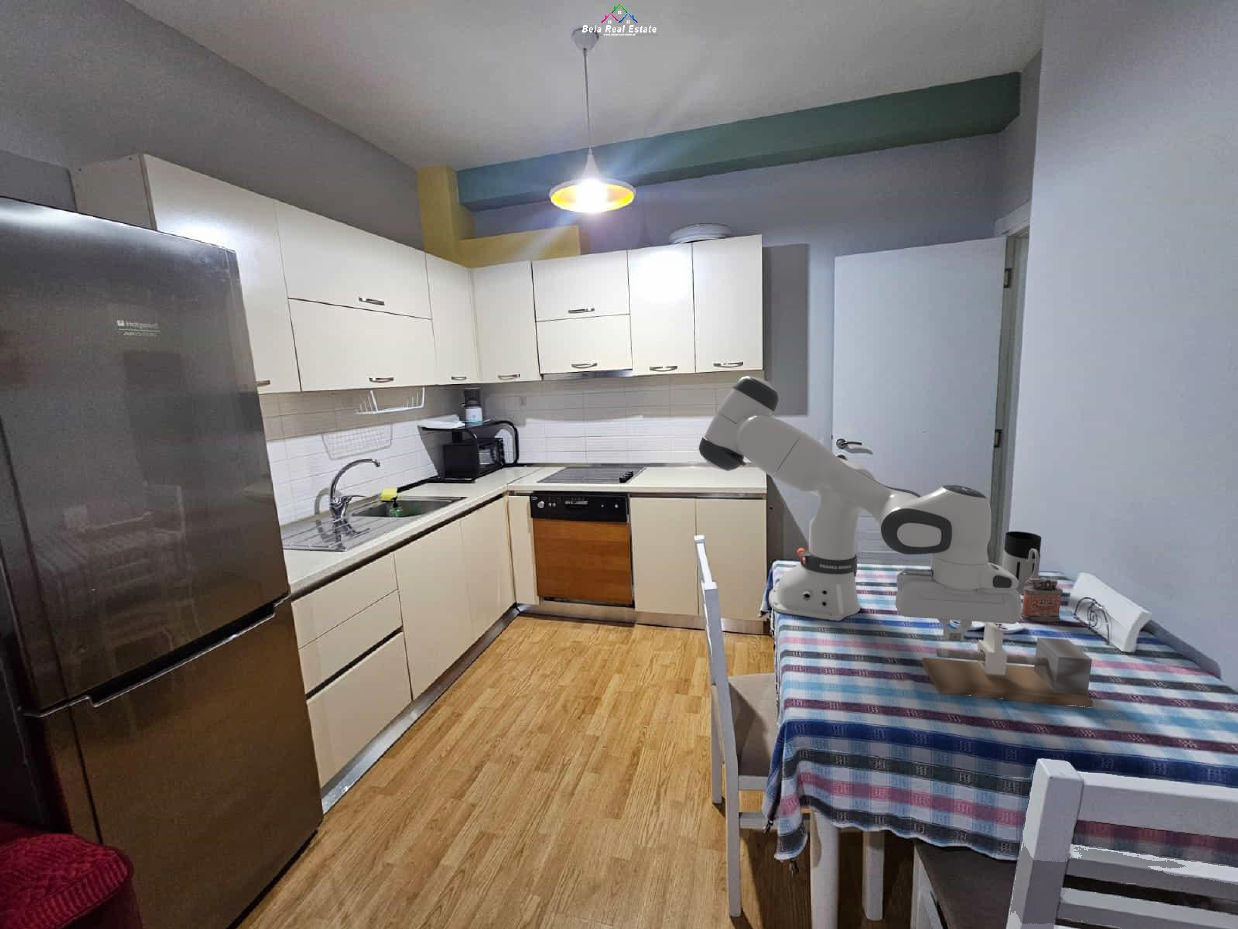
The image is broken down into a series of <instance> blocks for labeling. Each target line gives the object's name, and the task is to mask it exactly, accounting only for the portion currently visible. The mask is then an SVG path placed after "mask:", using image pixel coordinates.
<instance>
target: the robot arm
mask: <svg viewBox="0 0 1238 929" xmlns="http://www.w3.org/2000/svg"><path fill="white" fill-rule="evenodd" d="M778 403H779V396H778V392H777V391H776V390H775V388H774V387H773V386H772V385H771V384H770V383H769V382H768V381H766V380H765V379H764V378H760V377H757V376H756V377H755V376H750V375H747V376H741V378H739V379H738V380H737V381H736V382H735V383H734V385H733V386H732V389H731V391H729V393H728V394H727V396H726V397H725V398H724V400H723V401H722V402H721V404H720V405H719V407H718V408H717V410H716V413H715V414H714V416H713V417H712V420H711V422H710V424H709V426H708V428H707V430H706V432H705V434H704V436H702V438H701V440H700V442H699V446H698V451H699V453H700V456H701V457H702V458H703V459H704V460H705V462H706V463H707V464H708V465H710V466H712V467H713V468H715V469H718V470H723V471H727V472H729V471H733V470H736V469H738V468H739V467H741V466H743V467H744V466H746V465H747V463H746V462H745V461H744V460H745V459H747V460H748V461H749V462H750V463H752V464H753V465H754V466H756V467H757V468H758V469H759V470H760V471H763V472H764V473H765V474H767V475H768V476H770V477H771V478H773V479H774V480H775V481H778V482H779V483H781V484H783V485H785V486H788V487H790V488H791V489H794V490H797V491H800V492H802V493H803V492H809V493H811V494H812V495H815V496H817V497H818V498H819V505H818V508H817V511H816V514H815V516H814V517H813V518H812V519H811V520H810V522H809V531H808V532H809V533H808V534H809V535H808V549H806V550H805V548H803V547H800V548H798V549H797V551H796V552H797V555H798V557H800V559H799V560H800V563H799V564H796V565H795V566H794V567H791V568H790V569H789V570H787V571H785V572H784V573H782V575H781V576H780V577H779V581H778V584H777V586H776V587H773V588H772V589H771V590H770V591H769V593H768V594H769V595H768V602H769V605H770V607H771V608H772V609H773V610H774V611H776V612H778V613H782V614H789V615H796V616H803V617H809V618H815V619H823V620H827V619H828V620H829V621H834V620H835V622H839V621H841V620H843V619H844V618H845V617H848V616H852V615H853V616H854V615H855V614H857V613H858V612H859V611H860V610H861V604H860V601H859V598H858V593H857V592H858V590H857V583H856V576H857V573H858V555H857V554H856V548H857V547H856V545H857V544H856V543H857V529H858V524H859V520H860V517H861V514H862V512H863V510H866V511H867V512H868V513H869V514H871V515H872V517H873V518H874V519H875V520H876V523H877V524H878V528H879V532H880V534H881V538H882V541H883V542H884V543H885V544H886V545H887V547H889V548H890V549H891V550H893V551H895V552H896V553H899V554H902V555H931V558H930V559H931V563H930V569H922V568H921V569H914V568H906V569H905V570H902V571H901V572H899V573H898V574H897V575H896V582H895V583H896V588H897V591H896V596H895V603H894V604H895V605H894V606H895V608H896V610H897V611H898V613H900V615H901V616H902V617H906V618H918V619H919V618H922V619H932V620H933V619H934V620H938V622H939V624H940V625H941V627H942V630H943V633H942V636H943V638H944V640H945V641H956V642H964V638H965V634H966V633H967V632H968V631H969V629H970V628H971V627H972V626H973V622H977V623H979V622H980V623H985V622H991V623H994V624H1007V625H1015V624H1017V623H1018V622H1019V621H1020V620H1021V619H1022V618H1021V612H1022V597H1021V595H1020V594H1019V592H1018V591H1017V590H1016V588H1017V587H1018V583H1019V581H1018V579H1017V578H1016V577H1015V576H1014V575H1013V574H1011V573H1010V572H1009V571H1007V570H1006V569H1004V568H1003V567H1002V565H998V564H996V563H992V562H989V554H988V552H987V551H988V549H987V548H988V544H989V542H990V540H991V533H992V508H991V502H990V500H989V499H988V498H987V496H985V495H984V493H982V492H980V491H979V490H977V489H974V488H970V487H967V486H962V485H956V484H946V485H945V484H944V485H942V486H941V487H940V488H938V489H936V490H934V491H933V492H930V493H928V494H926V495H920V494H918V493H917V492H915V491H912V490H910V489H904V488H896V487H892V486H887V485H884V484H882V483H880V482H879V481H877V480H876V478H875V476H874V475H873V473H871V472H870V471H869V470H868V469H866V468H865V467H864V466H862V465H861V464H859V463H857V462H854V461H851V460H848V459H843V458H842V457H838V456H837V455H835V454H834V452H832V451H830V449H829V448H827V447H826V446H825V445H824V444H822V443H821V442H820V441H818V440H817V439H815V438H814V437H812V436H811V435H809V434H808V433H806V432H804V431H802V430H801V429H799V428H797V427H795V426H793V425H791V424H789V423H787V422H785V421H783V420H780V419H778V418H775V417H773V416H771V415H772V414H773V412H775V411H776V408H777V407H778ZM951 621H959V622H960V624H959V625H958V626H957V627H956V628H949V626H948V625H950V623H951Z"/></svg>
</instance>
